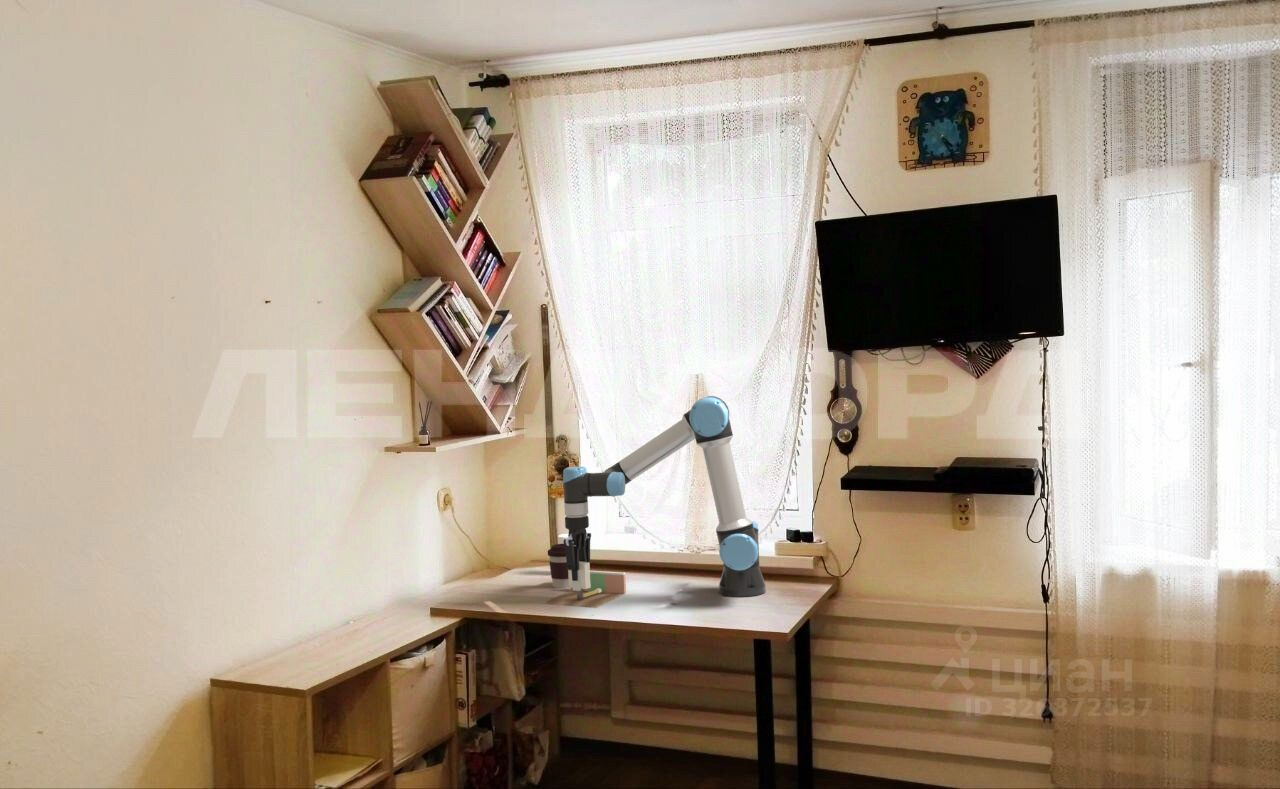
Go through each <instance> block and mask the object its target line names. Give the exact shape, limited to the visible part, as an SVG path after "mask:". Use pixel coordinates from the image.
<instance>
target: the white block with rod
mask: <svg viewBox="0 0 1280 789" xmlns="http://www.w3.org/2000/svg"><path fill="white" fill-rule="evenodd" d="M590 565H591V561H590V562H580V561H579V570H580V575H581V591H577V600H579V601H580V600H583V598H584V597H587V596H590V595H593V594H596V593H600V592H602V589H600V588H598V589H595V590H594V591H590V592H587V593H584V594H583V589H588V588H591V584H590V571H591V570H590V569H591V567H590ZM568 577H569V587H568V588H571V587H572V571H571V570H568Z"/></svg>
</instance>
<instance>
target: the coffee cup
mask: <svg viewBox="0 0 1280 789" xmlns="http://www.w3.org/2000/svg"><path fill="white" fill-rule="evenodd" d="M547 556H548V557H549V568H550V576H551V580H552V587H553V588H555V589H556V588H557V589H566V588H567V589H568V588H570V587H569V577H568V569H567V561H566V551H565V545H564V544H559V543H556V544H553V545H551V548H550V549H548V550H547Z"/></svg>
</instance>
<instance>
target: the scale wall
mask: <svg viewBox="0 0 1280 789" xmlns="http://www.w3.org/2000/svg"><path fill="white" fill-rule="evenodd" d="M626 582H627V580H626V572H621V571H620V572H618V571H605V570H604V571H603V570H602V571H600V570H590V584H591V588H588V589H583V591H594V590H595V589H598V588H600V589H602V592H606V593H621V594H623V595H625V594H627V586H626V585H627V583H626ZM570 590H573V587H570Z"/></svg>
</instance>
